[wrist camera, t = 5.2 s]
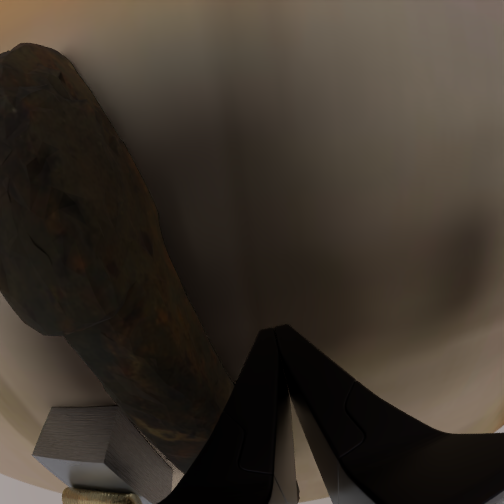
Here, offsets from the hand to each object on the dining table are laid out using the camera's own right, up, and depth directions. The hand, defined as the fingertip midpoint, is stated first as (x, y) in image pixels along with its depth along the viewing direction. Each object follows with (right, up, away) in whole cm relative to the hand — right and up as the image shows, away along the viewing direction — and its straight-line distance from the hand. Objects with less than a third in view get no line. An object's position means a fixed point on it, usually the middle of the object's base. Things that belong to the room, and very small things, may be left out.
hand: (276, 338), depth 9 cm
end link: (-8, -7, +3) cm, 11 cm away
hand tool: (-4, 0, +1) cm, 4 cm away
